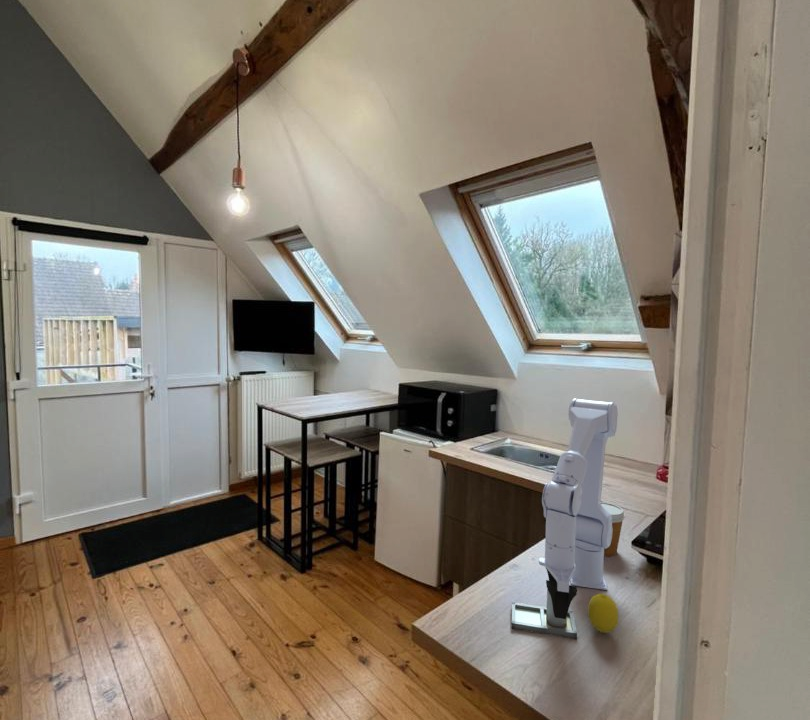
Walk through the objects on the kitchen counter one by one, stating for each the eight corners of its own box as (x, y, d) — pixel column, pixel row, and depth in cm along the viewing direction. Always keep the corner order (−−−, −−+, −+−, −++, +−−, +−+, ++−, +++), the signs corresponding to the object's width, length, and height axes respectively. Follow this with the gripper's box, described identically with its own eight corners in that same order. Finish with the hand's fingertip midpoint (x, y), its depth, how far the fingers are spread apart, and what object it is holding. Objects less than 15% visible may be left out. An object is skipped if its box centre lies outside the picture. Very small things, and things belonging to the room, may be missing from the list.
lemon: (608, 622, 90) (610, 585, 90) (622, 641, 85) (624, 602, 84) (582, 623, 90) (584, 586, 90) (595, 642, 85) (596, 603, 84)
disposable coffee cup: (631, 555, 117) (633, 512, 116) (603, 562, 114) (605, 517, 113) (604, 539, 126) (606, 499, 125) (577, 544, 123) (579, 503, 122)
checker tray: (511, 607, 95) (511, 602, 95) (572, 616, 92) (572, 611, 92) (511, 628, 88) (511, 622, 88) (576, 639, 85) (577, 633, 85)
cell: (545, 614, 92) (546, 582, 92) (566, 617, 91) (567, 585, 90) (546, 626, 88) (547, 593, 88) (567, 630, 87) (568, 597, 87)
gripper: (537, 523, 96) (535, 582, 97) (541, 556, 82) (539, 625, 83) (571, 527, 95) (569, 587, 96) (581, 561, 80) (579, 631, 81)
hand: (558, 605), depth 89 cm, fingers open, 7 cm apart
